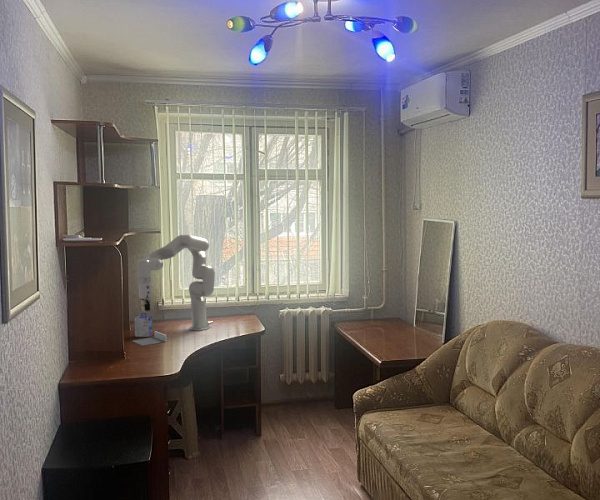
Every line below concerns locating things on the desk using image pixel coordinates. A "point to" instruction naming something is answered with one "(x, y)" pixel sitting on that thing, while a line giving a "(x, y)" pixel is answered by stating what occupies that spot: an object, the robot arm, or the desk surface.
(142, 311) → the birch cylinder
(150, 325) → the ink cartridge box
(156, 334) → the plate
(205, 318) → the robot arm
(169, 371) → the desk surface
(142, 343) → the board
